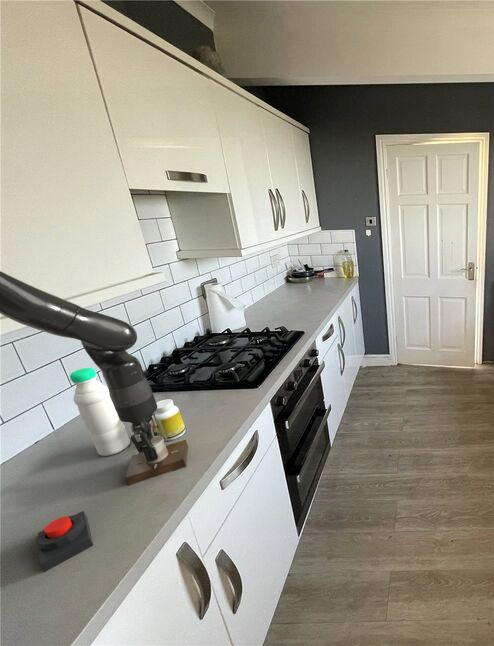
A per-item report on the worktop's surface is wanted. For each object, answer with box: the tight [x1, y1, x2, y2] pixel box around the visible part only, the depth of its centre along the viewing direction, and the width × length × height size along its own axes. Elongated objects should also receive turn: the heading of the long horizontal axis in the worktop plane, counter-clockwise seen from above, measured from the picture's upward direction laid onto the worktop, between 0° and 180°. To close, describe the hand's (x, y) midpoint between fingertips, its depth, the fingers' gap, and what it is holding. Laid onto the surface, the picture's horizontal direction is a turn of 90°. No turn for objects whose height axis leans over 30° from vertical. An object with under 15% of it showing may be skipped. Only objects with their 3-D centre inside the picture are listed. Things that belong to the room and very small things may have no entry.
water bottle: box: [69, 367, 131, 457], centre depth 94 cm, size 7×7×25 cm
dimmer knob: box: [143, 435, 168, 464], centre depth 90 cm, size 5×5×5 cm
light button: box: [43, 516, 73, 539], centre depth 70 cm, size 4×4×2 cm
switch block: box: [36, 510, 94, 573], centre depth 71 cm, size 10×7×4 cm
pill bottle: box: [154, 398, 187, 442], centre depth 102 cm, size 6×6×11 cm
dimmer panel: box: [124, 439, 189, 486], centre depth 92 cm, size 12×9×3 cm
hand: (154, 453), depth 91 cm, fingers closed on dimmer knob, 5 cm apart
